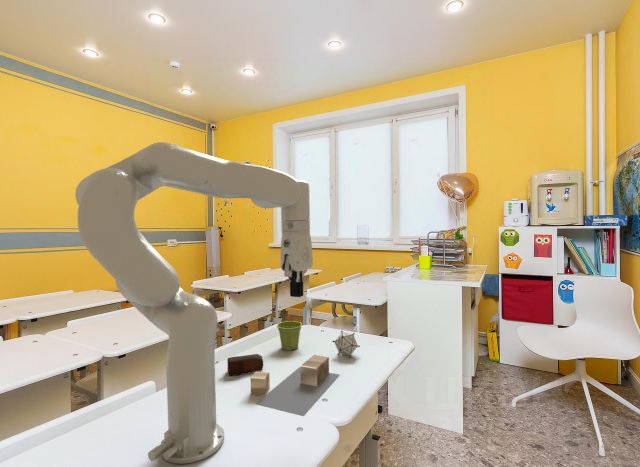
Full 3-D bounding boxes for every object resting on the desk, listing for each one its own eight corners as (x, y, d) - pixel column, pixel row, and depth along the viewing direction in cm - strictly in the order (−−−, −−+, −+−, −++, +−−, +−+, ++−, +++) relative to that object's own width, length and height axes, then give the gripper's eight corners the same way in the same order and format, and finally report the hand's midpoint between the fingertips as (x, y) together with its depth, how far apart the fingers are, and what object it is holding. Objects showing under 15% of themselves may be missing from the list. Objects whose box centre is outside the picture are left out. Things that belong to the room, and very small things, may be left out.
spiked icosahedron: (351, 364, 121) (368, 342, 120) (340, 364, 114) (358, 340, 114) (335, 346, 126) (351, 325, 126) (323, 345, 120) (340, 322, 119)
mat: (303, 417, 82) (303, 415, 82) (255, 405, 88) (255, 403, 88) (340, 375, 104) (340, 374, 104) (299, 368, 110) (299, 367, 110)
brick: (228, 377, 105) (228, 362, 104) (227, 372, 108) (227, 357, 108) (263, 371, 108) (263, 356, 108) (261, 366, 112) (260, 352, 112)
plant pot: (281, 342, 134) (281, 320, 134) (305, 343, 132) (304, 321, 132) (273, 351, 125) (273, 327, 125) (298, 352, 123) (298, 328, 123)
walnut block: (316, 368, 97) (328, 357, 105) (300, 366, 99) (313, 354, 107) (316, 386, 97) (329, 373, 105) (300, 383, 99) (314, 370, 107)
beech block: (265, 397, 92) (264, 378, 92) (250, 396, 93) (250, 377, 93) (269, 390, 96) (269, 372, 96) (256, 389, 97) (255, 371, 97)
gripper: (294, 228, 83) (295, 303, 84) (320, 227, 96) (321, 292, 97) (268, 228, 86) (269, 301, 87) (296, 227, 100) (297, 290, 100)
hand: (296, 296), depth 92 cm, fingers closed
